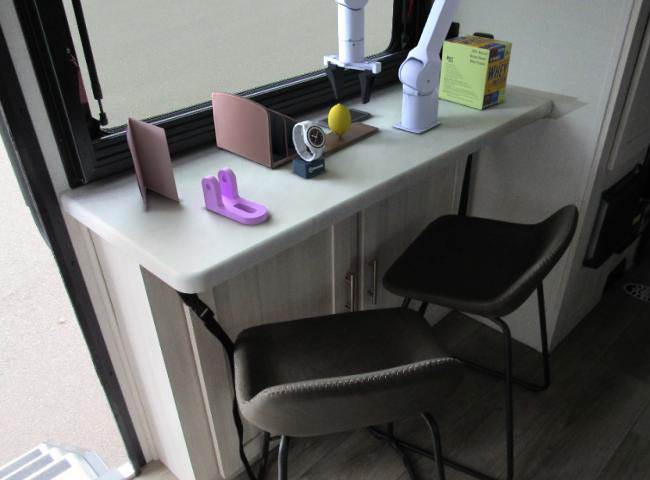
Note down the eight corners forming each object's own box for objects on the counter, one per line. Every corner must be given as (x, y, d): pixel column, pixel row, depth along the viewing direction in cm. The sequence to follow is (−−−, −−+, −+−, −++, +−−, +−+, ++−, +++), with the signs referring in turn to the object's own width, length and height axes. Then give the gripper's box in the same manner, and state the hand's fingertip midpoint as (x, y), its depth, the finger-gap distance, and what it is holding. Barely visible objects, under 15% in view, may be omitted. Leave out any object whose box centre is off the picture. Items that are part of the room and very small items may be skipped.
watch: (311, 181, 121) (309, 131, 114) (288, 170, 126) (284, 121, 119) (331, 173, 124) (330, 124, 117) (307, 163, 129) (305, 114, 122)
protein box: (482, 110, 154) (490, 49, 145) (437, 98, 163) (442, 40, 154) (504, 101, 159) (513, 42, 150) (460, 89, 169) (466, 33, 159)
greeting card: (141, 187, 121) (123, 117, 112) (176, 182, 122) (162, 112, 113) (141, 211, 112) (122, 137, 103) (179, 205, 113) (164, 132, 104)
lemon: (349, 141, 136) (348, 107, 131) (326, 140, 137) (325, 106, 132) (353, 133, 140) (353, 100, 135) (331, 131, 141) (330, 99, 136)
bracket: (206, 208, 112) (200, 175, 108) (226, 197, 116) (221, 165, 112) (252, 227, 106) (248, 193, 102) (273, 215, 109) (269, 182, 105)
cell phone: (372, 116, 152) (372, 113, 152) (336, 130, 144) (336, 127, 144) (351, 110, 156) (351, 107, 156) (316, 124, 148) (316, 121, 148)
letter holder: (271, 169, 126) (265, 105, 118) (216, 147, 137) (207, 87, 129) (303, 155, 132) (299, 94, 124) (248, 135, 143) (241, 77, 135)
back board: (356, 125, 147) (356, 121, 147) (378, 131, 143) (378, 127, 143) (302, 148, 136) (301, 144, 135) (325, 156, 132) (324, 152, 131)
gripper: (314, 38, 127) (317, 99, 135) (369, 46, 120) (368, 110, 128) (333, 32, 132) (335, 91, 140) (386, 39, 125) (385, 101, 133)
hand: (352, 100), depth 135 cm, fingers open, 7 cm apart
